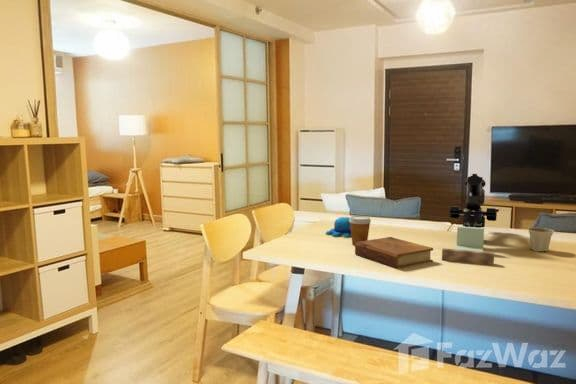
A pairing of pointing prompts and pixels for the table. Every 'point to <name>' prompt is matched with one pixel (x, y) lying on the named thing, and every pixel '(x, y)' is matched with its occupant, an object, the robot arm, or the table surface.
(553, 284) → the table surface
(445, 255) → the board
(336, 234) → the plush toy
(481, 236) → the bookend
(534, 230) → the flower pot
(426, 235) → the table surface
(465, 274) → the table surface
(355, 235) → the disposable coffee cup
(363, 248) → the diary
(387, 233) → the table surface
